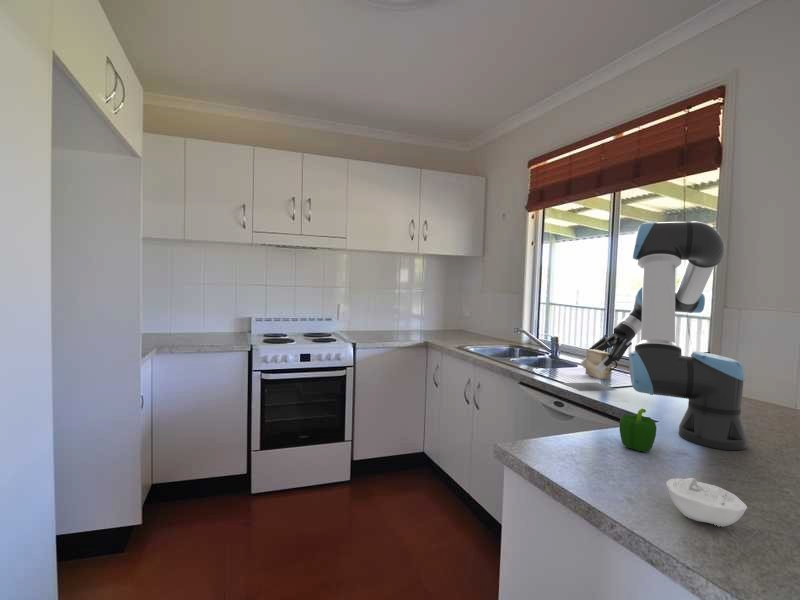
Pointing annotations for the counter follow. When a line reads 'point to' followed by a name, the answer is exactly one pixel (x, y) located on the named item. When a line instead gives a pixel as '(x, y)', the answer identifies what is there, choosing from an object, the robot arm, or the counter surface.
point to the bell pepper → (637, 431)
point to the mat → (588, 386)
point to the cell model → (705, 502)
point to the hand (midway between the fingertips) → (590, 368)
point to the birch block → (596, 363)
